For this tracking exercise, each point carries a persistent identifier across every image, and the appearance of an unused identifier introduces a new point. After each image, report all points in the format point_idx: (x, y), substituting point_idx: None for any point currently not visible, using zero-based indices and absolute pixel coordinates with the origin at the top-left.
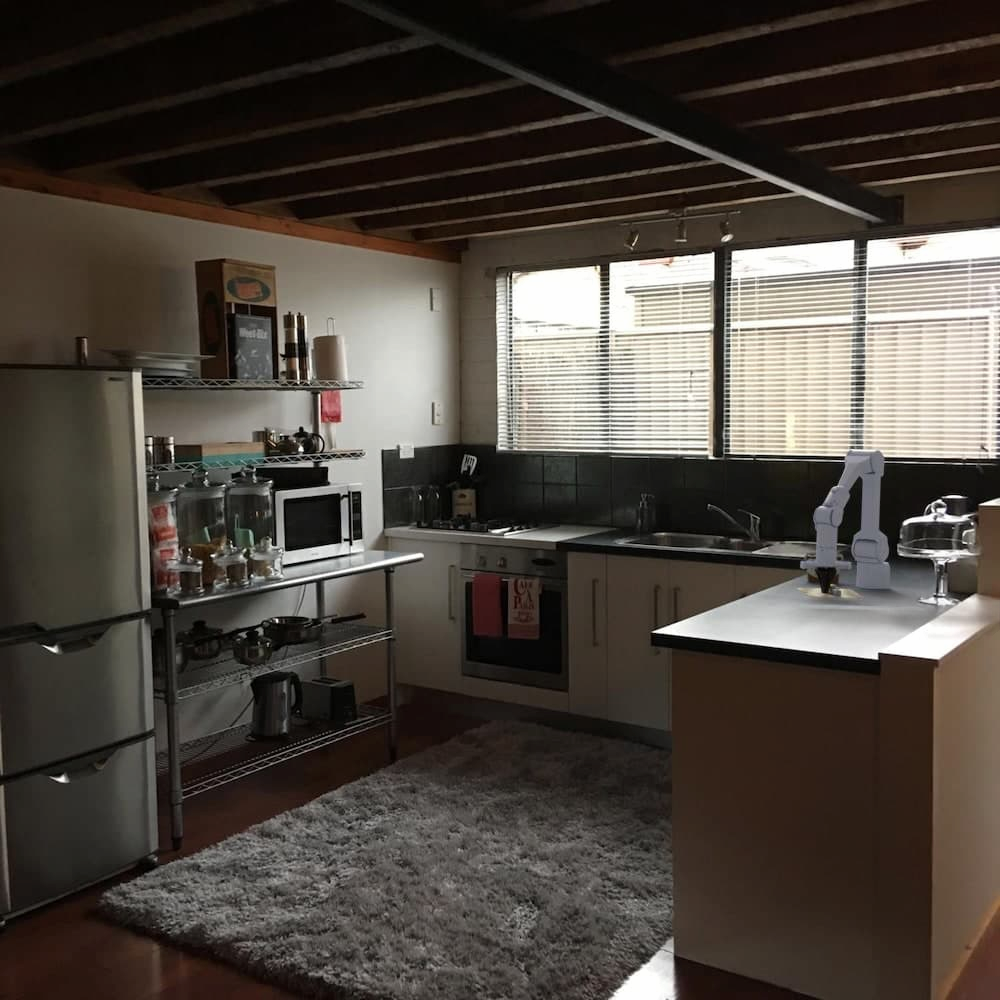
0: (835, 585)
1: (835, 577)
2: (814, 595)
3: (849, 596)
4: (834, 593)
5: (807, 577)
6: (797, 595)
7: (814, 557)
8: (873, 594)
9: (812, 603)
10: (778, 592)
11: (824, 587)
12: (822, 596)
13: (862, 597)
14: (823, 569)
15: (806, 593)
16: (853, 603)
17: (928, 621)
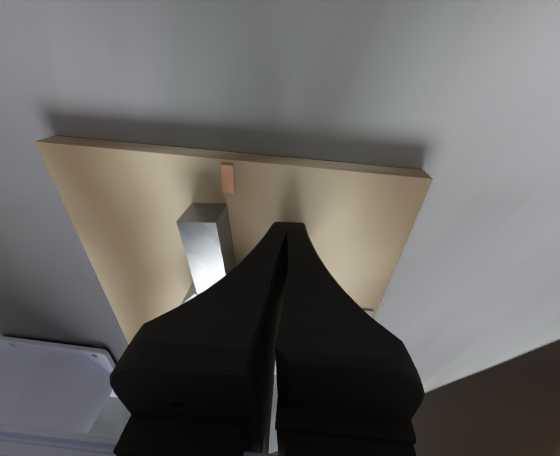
0: None
1: None
2: (360, 229)
3: (138, 196)
4: (226, 231)
5: None
6: (396, 304)
7: None
8: (50, 310)
9: (493, 6)
10: (441, 358)
11: (303, 241)
12: (321, 193)
13: (54, 162)
14: (316, 435)
15: (376, 284)
16: (126, 39)
17: None
